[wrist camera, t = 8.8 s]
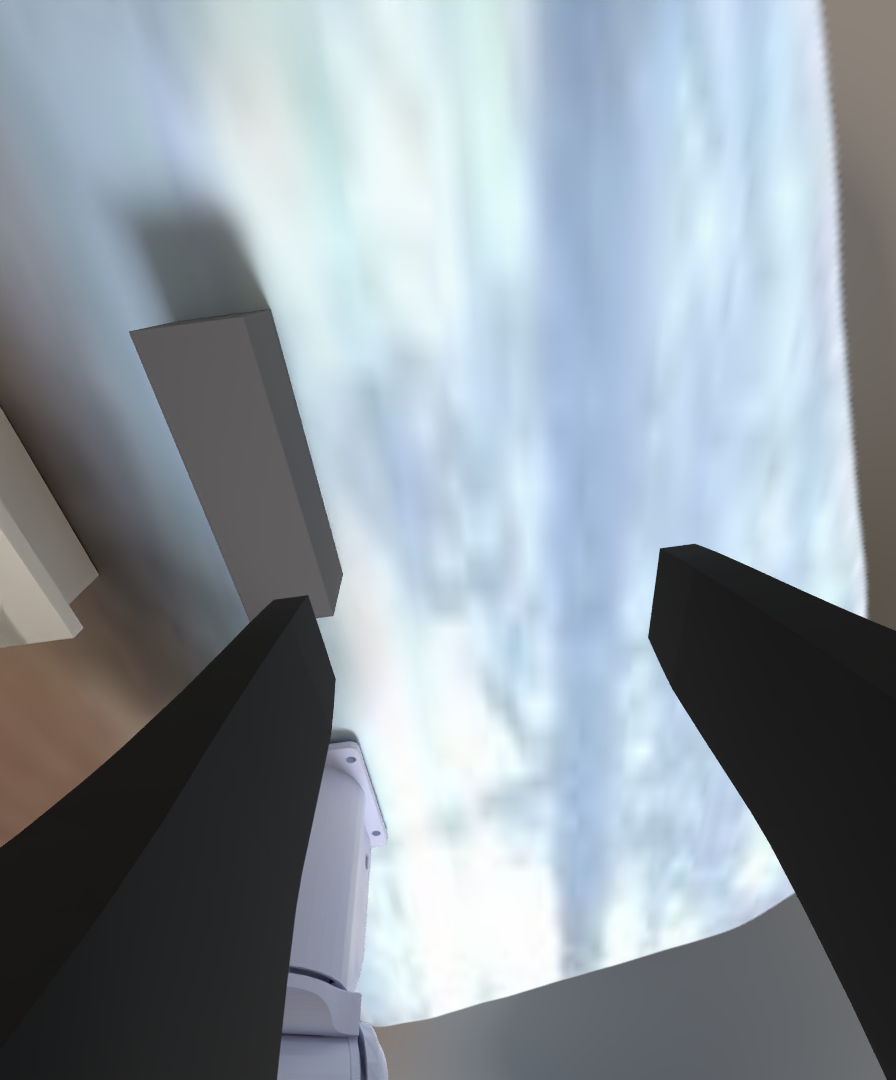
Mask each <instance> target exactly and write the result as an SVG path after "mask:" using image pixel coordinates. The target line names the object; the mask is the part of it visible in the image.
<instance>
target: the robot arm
mask: <svg viewBox="0 0 896 1080" xmlns="http://www.w3.org/2000/svg"><path fill="white" fill-rule="evenodd" d="M648 638H649V640H650V643H651V645H652V647H653V649H654V652H655V654H656V656H657V658H658V660H659V663H660V665H661V667H662V669H663V671H664V673H665V675H666V677H667V679H668V681H669V683H670V685H671V687H672V689H673V691H674V692H675V694H676V696H677V697H678V699H679V700H680V702H681V704H682V705H683V707H684V708H685V710H686V712H687V713H688V715H689V716H690V718H691V719H692V721H693V723H694V724H695V726H696V727H697V729H698V731H699V732H700V734H701V735H702V737H703V738H704V740H705V741H706V743H707V745H708V746H709V748H710V749H711V751H712V752H713V754H714V755H715V757H716V759H717V760H718V762H719V763H720V765H721V766H722V768H723V769H724V771H725V772H726V774H727V776H728V777H729V779H730V780H731V782H732V783H733V785H734V786H735V788H736V790H737V791H738V793H739V794H740V796H741V797H742V799H743V800H744V802H745V804H746V805H747V807H748V808H749V810H750V811H751V813H752V815H753V816H754V818H755V820H756V821H757V823H758V825H759V827H760V828H761V830H762V832H763V833H764V835H765V837H766V838H767V840H768V842H769V843H770V845H771V847H772V849H773V851H774V853H775V855H776V857H777V858H778V860H779V862H780V864H781V866H782V868H783V870H784V872H785V874H786V876H787V878H788V879H789V881H790V883H791V885H792V887H793V889H794V891H795V893H796V895H797V897H798V898H799V900H800V902H801V904H802V906H803V908H804V910H805V912H806V914H807V916H808V917H809V920H810V922H811V924H812V926H813V928H814V929H815V932H816V934H817V936H818V938H819V940H820V941H821V944H822V945H823V948H824V950H825V952H826V954H827V956H828V958H829V960H830V962H831V964H832V966H833V968H834V970H835V972H836V974H837V976H838V978H839V980H840V982H841V984H842V986H843V988H844V990H845V992H846V994H847V996H848V998H849V1000H850V1002H851V1004H852V1006H853V1008H854V1010H855V1012H856V1015H857V1017H858V1019H859V1021H860V1023H861V1025H862V1027H863V1029H864V1032H865V1033H866V1036H867V1038H868V1040H869V1042H870V1044H871V1047H872V1049H873V1051H874V1053H875V1055H876V1057H877V1059H878V1061H879V1063H880V1066H881V1068H882V1070H883V1072H884V1074H885V1076H886V1078H887V1080H896V631H895V630H892V629H889V628H887V627H885V626H882V625H880V624H877V623H875V622H873V621H870V620H868V619H866V618H863V617H861V616H859V615H856V614H854V613H852V612H849V611H847V610H845V609H842V608H840V607H838V606H835V605H833V604H831V603H829V602H826V601H824V600H822V599H820V598H817V597H815V596H813V595H811V594H808V593H806V592H804V591H802V590H800V589H797V588H795V587H793V586H791V585H789V584H786V583H784V582H782V581H780V580H778V579H775V578H773V577H771V576H769V575H767V574H765V573H762V572H760V571H758V570H756V569H754V568H751V567H749V566H747V565H745V564H743V563H740V562H738V561H736V560H734V559H731V558H729V557H727V556H724V555H722V554H720V553H717V552H715V551H713V550H710V549H708V548H705V547H702V546H699V545H697V544H690V545H683V546H675V547H667V548H660V553H659V561H658V568H657V576H656V583H655V591H654V598H653V606H652V613H651V620H650V628H649V635H648ZM335 680H336V679H335V676H334V673H333V670H332V667H331V664H330V660H329V657H328V654H327V651H326V648H325V645H324V642H323V639H322V636H321V633H320V630H319V627H318V624H317V620H316V617H315V614H314V611H313V608H312V605H311V602H310V599H309V596H308V595H305V596H298V597H290V598H282V599H275V600H273V601H272V602H271V603H270V604H268V605H267V606H266V607H265V608H264V609H263V610H262V611H261V612H260V613H259V614H258V615H257V616H256V617H255V618H254V619H253V620H252V621H251V622H250V623H249V624H248V625H247V626H246V627H245V628H244V629H243V630H242V631H241V632H240V633H239V634H238V635H237V637H236V638H235V639H234V640H233V641H232V642H231V643H230V644H229V645H228V646H227V647H226V648H225V649H224V650H223V651H222V652H221V653H220V654H219V655H218V656H217V657H216V658H215V659H214V660H213V661H212V662H211V663H210V664H209V665H208V666H207V667H206V668H205V669H204V670H203V671H202V672H201V673H200V674H199V675H198V676H197V677H196V678H195V679H194V680H193V681H192V682H191V683H190V684H189V685H188V686H187V687H186V688H185V689H184V690H183V691H182V692H181V693H180V694H179V695H178V696H177V697H176V698H175V699H173V700H172V701H171V702H170V703H169V704H168V705H167V706H166V707H165V708H164V709H163V710H162V711H161V712H160V713H158V714H157V715H156V716H155V717H154V718H153V719H152V720H151V721H150V722H149V723H148V724H147V725H146V726H145V727H144V728H142V729H141V730H140V731H139V732H138V733H137V734H136V735H135V736H134V737H133V738H132V739H131V740H130V741H129V742H127V743H126V744H125V745H124V746H123V747H122V748H121V749H120V750H119V751H118V752H116V753H115V754H114V755H113V756H112V757H111V758H110V759H109V760H107V761H106V762H105V763H104V764H103V765H102V766H100V767H99V768H98V769H97V770H96V771H95V772H93V773H92V774H91V775H90V776H89V777H88V778H86V779H85V780H84V781H83V782H82V783H81V784H79V785H78V786H77V787H76V788H74V789H73V790H72V791H71V792H70V793H68V794H67V795H66V796H65V797H63V798H62V799H61V800H60V801H59V802H57V803H56V804H55V805H54V806H52V807H51V808H50V809H49V810H48V811H46V812H45V813H44V814H43V815H42V816H40V817H39V818H38V819H37V820H35V821H34V822H33V823H32V824H30V825H29V826H28V827H27V828H25V829H24V830H23V831H22V832H20V833H19V834H18V835H16V836H15V837H14V838H13V839H11V840H10V841H9V842H7V843H6V844H5V845H3V846H2V847H1V848H0V1080H389V1078H388V1070H387V1064H386V1059H385V1056H384V1053H383V1050H382V1048H381V1046H380V1044H379V1042H378V1039H377V1036H376V1033H375V1031H374V1029H373V1028H372V1026H371V1025H370V1024H368V1023H366V1022H361V1023H360V1011H361V996H362V995H361V993H357V992H354V991H355V989H356V986H357V983H358V981H359V978H360V974H361V970H362V966H363V959H364V948H365V933H366V919H367V904H368V890H369V875H370V861H371V848H372V847H380V846H384V845H386V844H387V842H388V834H387V831H386V828H385V825H384V822H383V819H382V816H381V813H380V810H379V807H378V803H377V800H376V797H375V794H374V791H373V788H372V785H371V782H370V779H369V775H368V772H367V769H366V766H365V763H364V760H363V757H362V754H361V751H360V747H359V745H358V744H357V743H355V742H352V741H347V742H340V743H332V744H329V742H330V737H331V730H332V719H333V709H334V695H335Z"/></svg>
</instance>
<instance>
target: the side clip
mask: <svg viewBox="0 0 896 1080" xmlns="http://www.w3.org/2000/svg"><path fill="white" fill-rule="evenodd" d="M98 576H99V574H98V572H97V571H96V569H95V567H94V566H93V564H92V562H91V561H90V559H89V557H88V555H87V554H86V552H85V550H84V549H83V547H82V545H81V543H80V542H79V540H78V538H77V537H76V535H75V533H74V532H73V530H72V528H71V526H70V525H69V523H68V521H67V520H66V518H65V516H64V515H63V513H62V511H61V509H60V508H59V506H58V504H57V503H56V501H55V499H54V497H53V496H52V494H51V492H50V491H49V489H48V487H47V486H46V484H45V482H44V480H43V479H42V477H41V475H40V474H39V472H38V470H37V468H36V467H35V465H34V463H33V462H32V460H31V458H30V457H29V455H28V453H27V451H26V450H25V448H24V446H23V445H22V443H21V441H20V439H19V438H18V436H17V434H16V433H15V431H14V429H13V428H12V426H11V424H10V422H9V421H8V419H7V417H6V416H5V414H4V412H3V411H2V409H1V407H0V648H1V647H9V646H16V645H24V644H32V643H39V642H47V641H54V640H62V639H69V638H75V636H76V635H77V634H78V633H79V632H80V631H81V630H82V629H83V626H82V625H81V623H80V622H79V620H78V619H77V617H76V616H75V614H74V612H73V611H72V609H71V608H70V606H69V604H70V603H71V602H72V601H73V600H74V599H75V598H76V597H77V596H78V595H79V594H80V593H81V592H82V591H83V590H84V589H85V588H86V587H87V586H89V585H90V584H91V583H92V582H93V581H94V580H95V579H96V578H97V577H98Z"/></svg>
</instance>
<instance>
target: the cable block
mask: <svg viewBox="0 0 896 1080" xmlns="http://www.w3.org/2000/svg"><path fill="white" fill-rule="evenodd" d="M129 333H130V336H131V338H132V340H133V343H134V345H135V348H136V350H137V352H138V355H139V357H140V360H141V362H142V364H143V367H144V369H145V372H146V374H147V376H148V379H149V381H150V384H151V386H152V388H153V391H154V393H155V395H156V398H157V400H158V403H159V405H160V407H161V410H162V412H163V415H164V417H165V419H166V422H167V424H168V427H169V429H170V431H171V434H172V436H173V439H174V441H175V443H176V446H177V448H178V450H179V453H180V455H181V458H182V460H183V462H184V465H185V467H186V470H187V472H188V474H189V477H190V479H191V482H192V484H193V486H194V489H195V491H196V494H197V496H198V498H199V501H200V503H201V505H202V508H203V510H204V513H205V515H206V517H207V520H208V522H209V525H210V527H211V529H212V532H213V534H214V537H215V539H216V541H217V544H218V546H219V549H220V551H221V553H222V556H223V558H224V560H225V563H226V565H227V568H228V570H229V572H230V575H231V577H232V580H233V582H234V584H235V587H236V589H237V592H238V594H239V596H240V599H241V601H242V604H243V606H244V608H245V611H246V613H247V615H248V618H249V620H250V622H251V621H252V620H253V619H254V618H255V617H256V616H257V615H258V614H259V613H260V612H261V611H262V610H263V609H264V608H265V607H266V606H267V605H268V604H270V603H271V602H272V601H273V600H275V599H282V598H290V597H298V596H305V595H308V596H309V599H310V602H311V605H312V608H313V611H314V614H315V617H316V618H321V617H329V616H333V615H334V611H335V606H336V602H337V598H338V593H339V589H340V585H341V580H342V576H343V573H342V569H341V566H340V562H339V558H338V554H337V551H336V547H335V543H334V540H333V536H332V532H331V529H330V525H329V521H328V518H327V514H326V510H325V507H324V503H323V499H322V496H321V492H320V488H319V485H318V481H317V477H316V474H315V470H314V466H313V463H312V459H311V455H310V452H309V448H308V444H307V441H306V437H305V433H304V430H303V426H302V422H301V418H300V415H299V411H298V407H297V404H296V400H295V396H294V393H293V389H292V385H291V382H290V378H289V374H288V371H287V367H286V363H285V360H284V356H283V352H282V349H281V345H280V341H279V338H278V334H277V330H276V327H275V323H274V319H273V316H272V312H271V309H270V310H262V311H255V312H247V313H239V314H232V315H224V316H216V317H209V318H201V319H193V320H186V321H178V322H172V323H167V324H163V325H158V326H153V327H149V328H144V329H139V330H134V331H130V332H129Z"/></svg>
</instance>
